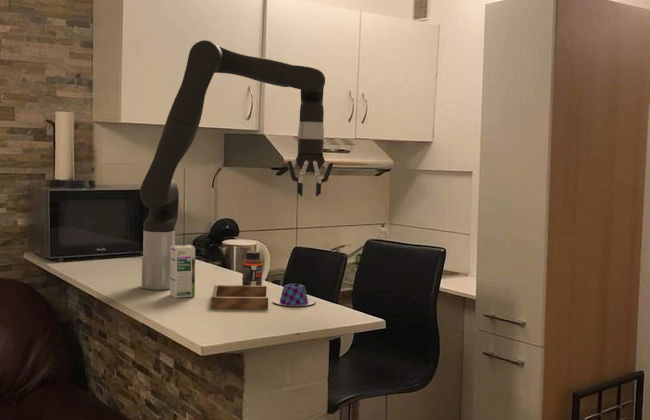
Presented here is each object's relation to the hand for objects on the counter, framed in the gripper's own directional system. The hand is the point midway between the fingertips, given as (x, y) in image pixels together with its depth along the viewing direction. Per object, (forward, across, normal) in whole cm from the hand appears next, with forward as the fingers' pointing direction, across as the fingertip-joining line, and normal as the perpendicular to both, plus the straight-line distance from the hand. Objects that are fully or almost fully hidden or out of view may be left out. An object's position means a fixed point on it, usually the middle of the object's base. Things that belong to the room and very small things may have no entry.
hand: (309, 195), depth 216 cm
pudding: (+30, -4, -14) cm, 33 cm away
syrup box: (+29, -36, -6) cm, 47 cm away
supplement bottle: (+29, -16, +6) cm, 34 cm away
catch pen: (+29, -19, -14) cm, 37 cm away
